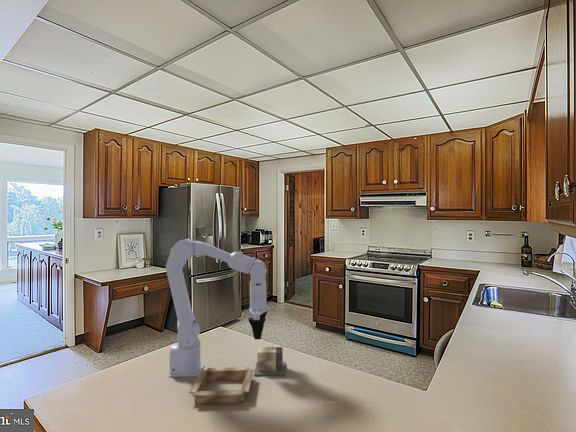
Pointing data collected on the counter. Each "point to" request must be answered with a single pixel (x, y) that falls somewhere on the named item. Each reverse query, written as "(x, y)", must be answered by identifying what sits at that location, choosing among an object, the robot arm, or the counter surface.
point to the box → (270, 358)
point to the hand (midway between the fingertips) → (258, 335)
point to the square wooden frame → (219, 375)
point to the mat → (269, 372)
